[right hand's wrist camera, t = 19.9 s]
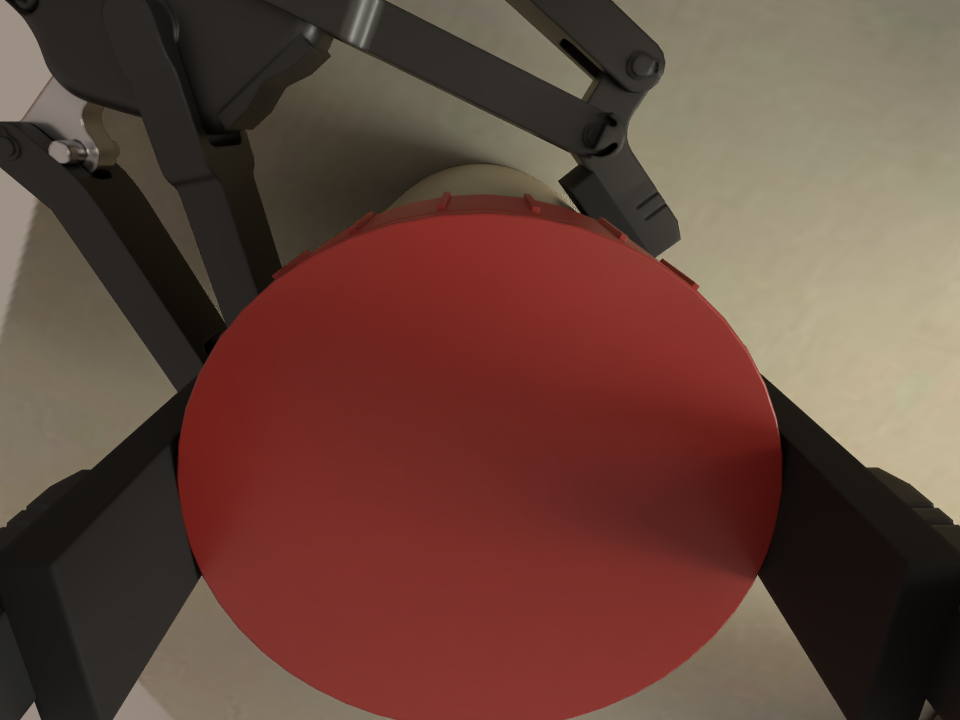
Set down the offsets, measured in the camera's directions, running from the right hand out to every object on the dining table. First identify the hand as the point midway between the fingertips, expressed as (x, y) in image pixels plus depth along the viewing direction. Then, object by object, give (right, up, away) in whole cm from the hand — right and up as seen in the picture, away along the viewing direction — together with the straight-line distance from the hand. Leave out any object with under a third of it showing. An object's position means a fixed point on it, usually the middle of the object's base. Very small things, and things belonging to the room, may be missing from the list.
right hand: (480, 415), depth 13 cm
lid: (0, -1, -3) cm, 3 cm away
